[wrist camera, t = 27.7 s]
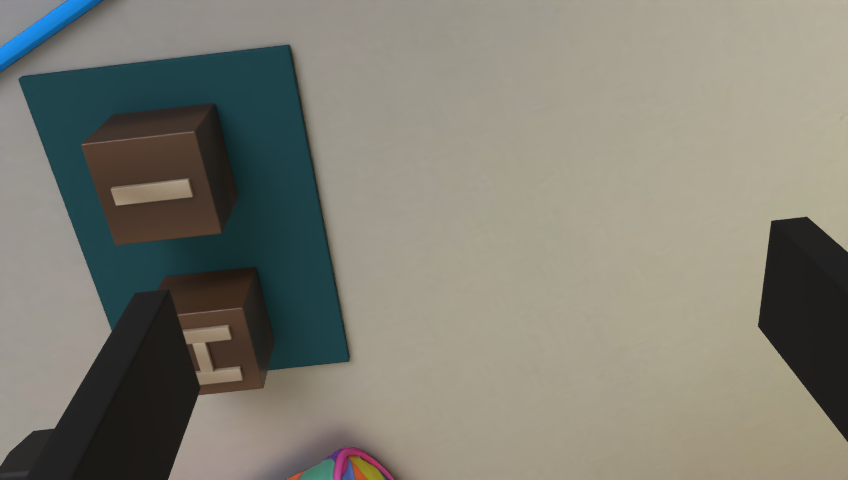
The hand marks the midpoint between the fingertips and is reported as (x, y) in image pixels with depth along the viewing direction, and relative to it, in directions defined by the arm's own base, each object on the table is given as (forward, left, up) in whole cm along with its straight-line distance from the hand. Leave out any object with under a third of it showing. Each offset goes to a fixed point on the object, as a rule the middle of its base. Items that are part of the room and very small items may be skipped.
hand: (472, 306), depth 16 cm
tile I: (+4, -14, -24) cm, 28 cm away
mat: (+9, -14, -25) cm, 30 cm away
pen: (-2, -23, -25) cm, 34 cm away
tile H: (+14, -14, -24) cm, 31 cm away
